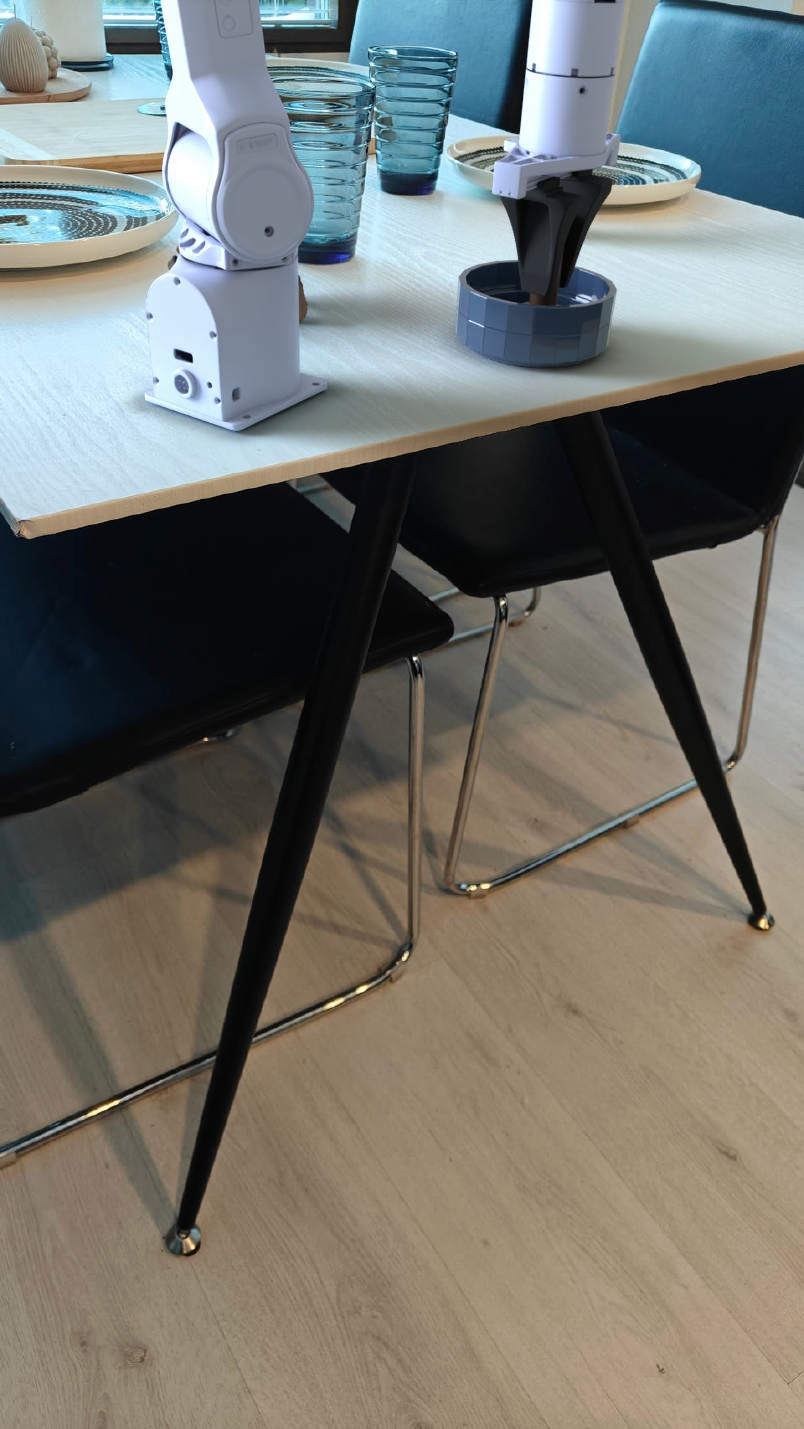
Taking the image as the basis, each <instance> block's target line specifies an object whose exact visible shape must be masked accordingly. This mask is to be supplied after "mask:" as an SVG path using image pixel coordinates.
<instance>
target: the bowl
mask: <svg viewBox="0 0 804 1429" xmlns="http://www.w3.org/2000/svg"><path fill="white" fill-rule="evenodd" d="M617 291H618V288H617V287H616V285H615V284H614V282H613V281H612V280H611V279H609V278H607V277H606V276H604V275H603V274H601V273H598V272H595V271H593V270H590V269H587V268H584V267H582V266H581V267H580V266H576V265H575V268H574V271H573V273H572V276H571V278H570V281H569V283H568V285H567V287H565V288H559V293H558V300H557V304H559V305H561V306H547V305H531V304H523V303H525V302H530V293H528V292H523V291H522V286H521V280H520V272H519V264H518V259H507V260H505V259H504V260H493V261H489V262H484V263H478V264H475V265H472V266H470V267H467V268H465V269H464V270H463V271H462V272H461V273H460V275H458V280H457V293H456V294H457V295H456V308H455V322H454V323H455V324H454V331H455V336H456V339H457V340H458V341H460V342H461V344H463V345H464V346H466V347H467V348H469V350H471V351H472V352H474V353H475V354H477V355H479V356H481V357H483V358H485V359H487V360H491V361H494V362H497V363H502V364H506V365H510V366H518V367H526V368H541V369H543V368H544V369H545V368H562V367H569V366H574V365H577V364H581V363H584V362H587V361H588V360H590V359H591V358H595V357H597V356H598V355H600V354H602V353H603V352H605V351H606V349H607V347H608V345H609V342H610V337H611V336H610V335H611V330H612V324H613V323H612V322H613V317H614V311H615V305H616V299H617Z"/></svg>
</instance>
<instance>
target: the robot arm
mask: <svg viewBox="0 0 804 1429" xmlns="http://www.w3.org/2000/svg"><path fill="white" fill-rule="evenodd" d="M160 6H161V11H162V18H163V23H164V29H165V35H166V40H167V45H168V49H169V50H168V52H169V56H170V57H169V58H170V62H171V67H172V68H171V69H172V78H171V81H170V84H169V87H168V90H167V94H166V96H165V101H164V109H165V115H166V120H167V132H168V133H167V141H166V147H165V151H164V154H163V160H162V167H161V171H162V172H161V174H162V182H163V187H164V190H165V193H166V195H167V198H168V200H169V201H170V203H171V206H173V207H174V209H175V210H176V211H177V212H178V214H180V216H182V217H183V224H182V228H181V231H180V233H179V239H178V245H179V251H180V253H179V254H178V255H177V257H178V258H177V261H176V263H175V264H174V266H173V267H172V268H171V269H170V270H169V269H168V271H167V272H165V273H163V274H161V275H160V276H158V277H157V278H156V279H155V280H154V281H153V282H152V283H151V285H150V287H149V289H148V291H147V295H146V298H145V299H146V300H145V323H146V332H147V341H148V352H149V360H150V367H151V368H150V370H151V381H152V389H150V390H148V391H146V392H145V393H144V398H145V399H144V400H145V401H146V402H148V403H151V404H154V405H157V406H160V407H162V408H166V409H169V410H171V411H174V412H177V413H179V414H183V415H186V416H190V417H192V418H195V419H198V420H200V421H204V422H207V423H209V424H212V425H216V426H218V427H221V428H224V429H227V430H230V431H235V432H239V431H242V430H245V429H246V428H248V427H251V426H252V425H254V424H258V423H260V422H261V421H262V420H266V419H268V418H269V417H271V416H274V415H275V414H278V413H280V412H281V411H284V410H286V409H288V408H290V407H292V406H294V405H296V404H298V403H301V402H302V401H304V400H306V399H308V398H311V397H314V396H315V395H317V394H319V393H321V392H323V391H326V390H327V389H328V381H327V380H325V379H323V378H319V377H316V376H312V375H309V374H306V373H302V372H301V358H300V355H301V353H300V352H301V350H300V323H299V285H298V275H299V246H300V245H301V244H302V242H303V241H304V239H305V238H306V237H307V234H308V232H309V231H310V228H311V225H312V222H313V218H314V212H315V193H314V188H313V184H312V180H311V179H310V176H309V173H308V172H307V170H306V168H305V167H304V165H303V164H302V162H301V160H300V159H299V157H298V155H297V152H296V150H295V147H294V144H293V139H292V133H291V125H290V124H291V122H290V118H289V116H288V113H287V111H286V108H285V106H284V103H283V102H282V100H281V97H280V95H279V93H278V91H277V89H276V87H275V84H274V82H273V80H272V78H271V75H270V72H269V70H268V65H267V64H268V63H267V56H266V48H265V41H264V33H263V32H264V31H263V26H262V17H261V9H260V8H261V7H260V1H259V0H160ZM625 7H626V0H532V6H531V17H530V27H529V36H528V37H529V38H528V47H527V57H526V69H525V77H524V88H523V100H522V109H521V118H520V119H521V120H520V129H519V130H520V131H519V136H513V137H510V138H506V139H504V142H503V151H504V152H506V153H507V154H506V155H505V156H504V157H503V158H501V159H498V160H495V161H494V166H493V177H492V188H491V189H492V190H491V194H492V195H494V196H499V199H500V201H501V203H502V205H503V207H504V209H505V212H506V214H507V217H508V220H509V223H510V226H511V230H512V233H513V238H514V243H515V249H516V254H517V260H518V264H519V272H520V280H521V286H522V291H523V292H528V293H532V294H536V295H540V296H545V297H547V296H549V295H551V293H552V291H553V288H554V286H555V283H556V279H557V275H558V271H559V266H560V262H561V257H562V253H563V249H564V253H563V261H562V269H561V277H560V285H559V288H565V287H567V285H568V283H569V281H570V278H571V276H572V273H573V271H574V268H575V266H576V265H577V262H578V259H579V256H580V254H581V250H582V248H583V246H584V243H585V240H586V237H587V235H588V232H589V230H590V228H591V226H592V224H593V222H594V220H595V218H596V216H597V214H598V212H599V211H600V209H601V207H602V206H603V205H604V203H605V201H606V200H607V198H608V197H609V196H610V194H611V191H612V188H613V182H614V180H613V179H612V178H610V177H606V176H600V175H595V174H593V172H594V169H598V168H601V167H603V166H607V167H612V166H614V165H617V163H618V158H619V150H620V144H621V135H622V134H619V133H613V132H608V129H609V128H608V127H609V122H610V114H611V106H612V99H613V92H614V84H615V77H616V72H617V63H618V58H619V50H620V44H621V43H620V42H621V37H622V36H621V34H622V29H623V28H622V27H623V20H624V13H625Z"/></svg>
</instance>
